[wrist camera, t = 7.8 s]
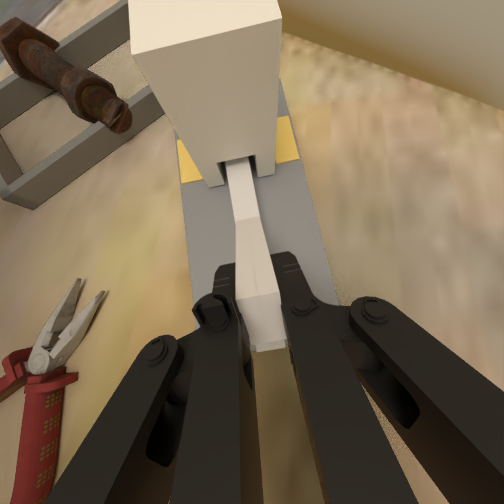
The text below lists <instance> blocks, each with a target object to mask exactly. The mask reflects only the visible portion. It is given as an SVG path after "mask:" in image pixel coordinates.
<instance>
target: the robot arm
mask: <svg viewBox="0 0 504 504" xmlns="http://www.w3.org/2000/svg"><path fill="white" fill-rule="evenodd" d="M192 312H193V314H194V316H195V317H196V319H197V321H198V323H199V325H200V327H199V328H198V329H197V330H195V331H194V332H192V333H190V334H188V335H186V336H184V337H182V338H180V339H178V340H176V339H175V338H174V336H171V335H162V336H159V337H157V338H155V339H153V340H151V341H150V342H149V343H148V344H146V345H145V347H144V348H143V349H142V350H141V351H140V353H139V354H138V356H137V357H136V359H135V361H134V362H133V364H132V365H131V367H130V368H129V370H128V372H127V373H126V375H125V376H124V378H123V379H122V381H121V383H120V384H119V386H118V387H117V389H116V390H115V392H114V394H113V395H112V397H111V398H110V400H109V401H108V403H107V405H106V406H105V408H104V409H103V411H102V412H101V414H100V416H99V417H98V419H97V420H96V422H95V423H94V425H93V427H92V428H91V430H90V431H89V433H88V434H87V436H86V437H85V439H84V441H83V442H82V444H81V445H80V447H79V448H78V450H77V452H76V453H75V455H74V456H73V458H72V459H71V461H70V463H69V464H68V466H67V467H66V469H65V470H64V472H63V474H62V475H61V477H60V478H59V480H58V481H57V483H56V485H55V486H54V488H53V489H52V491H51V492H50V494H49V496H48V497H47V499H46V500H45V502H44V503H43V504H168V502H169V499H170V503H169V504H264V501H263V488H262V475H261V461H260V448H259V435H258V421H257V408H256V395H255V382H254V368H253V359H252V355H251V352H250V343H251V345H257V344H262V343H268V342H273V341H279V340H285V339H287V342H288V346H289V352H290V358H291V364H292V365H293V370H294V374H295V378H296V382H297V387H298V391H299V395H300V399H301V404H302V408H303V412H304V416H305V421H306V425H307V429H308V434H309V438H310V442H311V446H312V451H313V455H314V459H315V463H316V468H317V472H318V476H319V480H320V485H321V489H322V493H323V498H324V502H325V504H419V503H418V501H417V499H416V497H415V495H414V493H413V491H412V489H411V487H410V485H409V483H408V481H407V478H406V476H405V474H404V472H403V470H402V468H401V466H400V464H399V462H398V460H397V458H396V456H395V454H394V452H393V449H392V447H391V445H390V443H389V441H388V439H387V437H386V435H385V433H384V431H383V429H382V427H381V425H380V423H379V420H378V418H377V416H376V414H375V412H374V410H373V408H372V406H371V404H370V402H369V400H368V398H367V396H366V394H365V391H364V389H363V387H364V388H365V389H366V391H367V392H368V393H369V395H370V396H371V397H372V399H373V400H374V401H375V403H376V404H377V406H378V407H379V408H380V410H381V411H382V412H383V414H384V415H385V416H386V418H387V419H388V421H389V422H390V423H391V425H392V426H393V427H394V429H395V430H396V431H397V433H398V434H399V435H400V437H401V438H402V440H403V441H404V442H405V444H406V445H407V446H408V448H409V449H410V450H411V452H412V453H413V454H414V456H415V457H416V459H417V460H418V461H419V463H420V464H421V465H422V467H423V468H424V469H425V471H426V472H427V474H428V475H429V476H430V478H431V479H432V480H433V482H434V483H435V484H436V486H437V487H438V488H439V490H440V491H441V493H442V494H443V495H444V497H445V498H446V499H447V501H448V502H449V503H450V504H504V392H503V391H502V390H501V389H500V388H498V387H497V386H496V385H494V384H493V383H492V382H491V381H489V380H488V379H487V378H486V377H484V376H483V375H482V374H480V373H479V372H478V371H477V370H475V369H474V368H473V367H471V366H470V365H469V364H468V363H466V362H465V361H464V360H463V359H461V358H460V357H459V356H457V355H456V354H455V353H454V352H452V351H451V350H450V349H448V348H447V347H446V346H445V345H443V344H442V343H441V342H440V341H438V340H437V339H436V338H434V337H433V336H432V335H431V334H429V333H428V332H427V331H426V330H424V329H423V328H422V327H420V326H419V325H418V324H417V323H415V322H414V321H413V320H411V319H410V318H409V317H408V316H406V315H405V314H404V313H403V312H401V311H400V310H399V309H397V308H396V307H395V306H394V305H392V304H390V303H389V302H387V301H385V300H383V299H380V298H377V297H367V296H366V297H361V298H358V299H356V300H355V301H353V302H352V304H351V306H340V305H332V304H327V303H325V302H322V301H321V300H319V299H318V298H317V297H315V296H314V294H313V293H312V291H311V289H310V287H309V285H308V282H307V280H306V278H305V276H304V274H303V272H302V270H301V267H300V265H299V263H298V261H297V258H296V256H295V255H293V254H292V253H291V252H289V251H285V252H280V253H275V254H269V250H268V246H267V243H266V239H265V235H264V231H263V227H262V224H261V220H260V216H257V217H252V218H247V219H243V220H238V221H236V262H234V263H229V264H224V265H220V266H219V267H218V269H217V270H216V272H215V275H214V282H213V289H212V293H209V294H206V295H205V296H203V297H202V298H200V299H199V300H198V301H197V302H196V303H195V305H194V307H193V309H192ZM360 382H361V383H360ZM361 384H362V385H363V387H362V385H361ZM170 496H171V497H170Z"/></svg>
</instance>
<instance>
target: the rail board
mask: <svg viewBox="0 0 504 504" xmlns="http://www.w3.org/2000/svg"><path fill="white" fill-rule="evenodd" d="M174 131H175V129H174ZM175 140H176V149H177V158H178V167H179V176H180V185H181V195H182V204H183V213H184V222H185V231H186V240H187V249H188V259H189V268H190V277H191V286H192V295H193V304H194V305H195V303H196V302H197V301H198V300H199V299H200V298H202V297H203V296H205V295H206V294H209V293H212V289H213V282H214V275H215V272H216V270H217V269H218V267H219V266H220V265H224V264H229V263H234V262H236V221H238V220H243V219H247V218H252V217H257V216H260V220H261V224H262V227H263V231H264V235H265V239H266V243H267V246H268V250H269V254H275V253H280V252H285V251H289V252H291V253H292V254H293V255H295V256H296V258H297V261H298V263H299V265H300V267H301V270H302V272H303V274H304V276H305V278H306V280H307V282H308V285H309V287H310V289H311V291H312V293H313V294H314V296H315V297H317V298H318V299H319V300H321V301H322V302H325V303H327V304H332V305H339V302H338V298H337V294H336V290H335V287H334V283H333V279H332V275H331V271H330V267H329V264H328V260H327V256H326V252H325V248H324V244H323V241H322V237H321V233H320V229H319V225H318V222H317V218H316V214H315V210H314V206H313V202H312V199H311V195H310V191H309V187H308V183H307V179H306V176H305V172H304V168H303V164H302V160H301V156H300V153H299V149H298V145H297V141H296V137H295V134H294V130H293V126H292V122H291V118H290V114H289V111H288V107H287V103H286V99H285V95H284V91H283V88H282V84H281V80H280V78H279V92H278V113H277V133H276V154H275V174H272V175H268V176H263V177H258V176H257V171H256V166H255V161H254V156H253V155H251V156H246V157H242V158H237V159H232V160H228V161H223V162H221V164H222V170H223V176H224V182H225V185H220V186H215V187H210V188H208V186H207V184H206V182H205V181H204V179H203V177H202V176H201V174H200V172H199V170H198V169H197V167H196V165H195V164H194V162H193V160H192V158H191V157H190V155H189V153H188V151H187V150H186V148H185V146H184V145H183V143H182V141H181V139H180V138H179V136H178V134H177V133H176V131H175ZM195 323H196V330H197V329H198V328H199V327H200V325H199V323H198V321H197V319H196V317H195ZM285 345H288V342H287V339H285V340H279V341H273V342H268V343H262V344H257V345H251V343H250V351H255V350H256V351H257V352H263V351H269V350H275V349H281V348H286V347H285Z"/></svg>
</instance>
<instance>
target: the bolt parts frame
mask: <svg viewBox="0 0 504 504" xmlns="http://www.w3.org/2000/svg"><path fill="white" fill-rule="evenodd" d="M129 38H130V24H129V7H128V0H120V1H119V2H117V3H116V4H115V5H113V6H112V7H110V8H109V9H107V10H106V11H104V12H103V13H101V14H100V15H98V16H97V17H95V18H94V19H92V20H91V21H89V22H88V23H87V24H85V25H84V26H82V27H81V28H79V29H78V30H76V31H75V32H73V33H72V34H70V35H69V36H67V37H66V38H64V39H63V40H62V41H60V42H59V45H60V46H59V47H58V48H57V49H56V50H55V52H56V53H57V54H58V55H59V56H61V57H62V58H63V59H64V60H66V61H67V62H68V63H70V64H72V65H73V66H75V67H76V66H78V65H79V66H81V67H83V68H85V69H86V68H88V67H89V66H91V65H92V64H94V63H95V62H96V61H98V60H99V59H101V58H102V57H104V56H105V55H106V54H108V53H109V52H111V51H112V50H114V49H115V48H117V47H118V46H119V45H121V44H122V43H124V42H125V41H127V40H128V39H129ZM54 91H55V90H54ZM52 92H53V90H50V89H48V88H45V87H43V86H40V85H38V84H35V83H33V82H30V81H28V80H25V79H23V78H20V77H19V76H18V75H17V74H15V73H13V74H11V75H10V76H9V77H7V78H6V79H4V80H3V81H1V82H0V128H2V127H3V126H4V125H6V124H7V123H9V122H10V121H12V120H13V119H15V118H16V117H17V116H19V115H20V114H22V113H23V112H25V111H26V110H27V109H29V108H30V107H32V106H33V105H35V104H36V103H38V102H39V101H40V100H42V99H43V98H45V97H46V96H48V95H49V94H50V93H52ZM125 103H127V104H128V105H129V106H128V108H129V110H130V111H131V113H132V125H131V127H130V128H129V130H127V131H126V132H124V133H121V134H116V133H113V132H111V131H110V129H109V128H110V127H111V126H112V124H113V123H114V122H115V121H116V120H117V119H118V117H119V116H120V115H121V114H119V115H117V116H115V117H114V119H113V121H112V123H111V126H110V127H109V128H107V127H106V126H105V125H104V124H103V123H101V121H97V122H96V123H95V124H93V125H92V126H90V127H89V128H88V129H86V130H85V131H84V132H82V133H81V134H79V135H78V136H77V137H75V138H74V139H72V140H71V141H70V142H68V143H67V144H65V145H64V146H63V147H61V148H60V149H58V150H57V151H56V152H54V153H53V154H52V155H50V156H49V157H47V158H46V159H45V160H43V161H42V162H40V163H39V164H38V165H36V166H35V167H33V168H32V169H31V170H29V171H28V172H26V173H25V174H24V175H23V173H22V172H21V170H20V168H19V166H18V165H17V163H16V161H15V159H14V158H13V156H12V154H11V153H10V151H9V149H8V147H7V146H6V144H5V142H4V140H3V139H2V137H1V135H0V196H1V198H2V200H5V201H8V202H11V203H14V204H17V205H20V206H23V207H25V208H28V209H31V210H34V209H35V208H36V207H38V206H39V205H40V204H42V203H43V202H45V201H46V200H47V199H49V198H50V197H51V196H53V195H54V194H55V193H57V192H58V191H60V190H61V189H62V188H64V187H65V186H66V185H68V184H69V183H70V182H72V181H73V180H75V179H76V178H77V177H79V176H80V175H81V174H83V173H84V172H85V171H87V170H88V169H90V168H91V167H92V166H94V165H95V164H96V163H98V162H99V161H100V160H102V159H103V158H105V157H106V156H107V155H109V154H110V153H111V152H113V151H114V150H115V149H117V148H118V147H119V146H121V145H122V144H124V143H125V142H126V141H128V140H129V139H130V138H132V137H133V136H134V135H136V134H137V133H139V132H140V131H141V130H143V129H144V128H145V127H147V126H148V125H149V124H151V123H152V122H154V121H155V120H156V119H158V118H159V117H160V116H162V115H163V114H164V113H165V112H164V110H163V108H162V107H161V105H160V103H159V102H158V100H157V98H156V96H155V95H154V93H153V91H152V90H151V88H150V86H149V85H148V86H146V87H145V88H143V89H142V90H141V91H139V92H138V93H136V94H135V95H134V96H132V97H131V98H129V99H128V100H127V101H125Z"/></svg>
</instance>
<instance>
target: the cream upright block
mask: <svg viewBox="0 0 504 504" xmlns="http://www.w3.org/2000/svg"><path fill="white" fill-rule="evenodd" d="M128 7H129V24H130V40H131V55H132V57H133V59H134V60H135V62H136V64H137V66H138V67H139V69H140V71H141V72H142V74H143V76H144V78H145V79H146V81H147V83H148V84H149V86H150V88H151V90H152V91H153V93H154V95H155V96H156V98H157V100H158V102H159V103H160V105H161V107H162V108H163V110H164V112H165V114H166V115H167V117H168V119H169V121H170V122H171V124H172V126H173V127H174V129H175V131H176V133H177V134H178V136H179V138H180V139H181V141H182V143H183V145H184V146H185V148H186V150H187V151H188V153H189V155H190V157H191V158H192V160H193V162H194V164H195V165H196V167H197V169H198V170H199V172H200V174H201V176H202V177H203V179H204V181H205V182H206V184H207V186H208V188H210V187H215V186H220V185H225V182H224V176H223V170H222V164H221V162H223V161H228V160H232V159H237V158H242V157H246V156H251V155H253V156H254V161H255V166H256V171H257V176H258V177H263V176H268V175H272V174H275V154H276V133H277V113H278V92H279V72H280V51H281V31H282V16H281V12H280V9H279V6H278V2H277V0H128Z"/></svg>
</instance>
